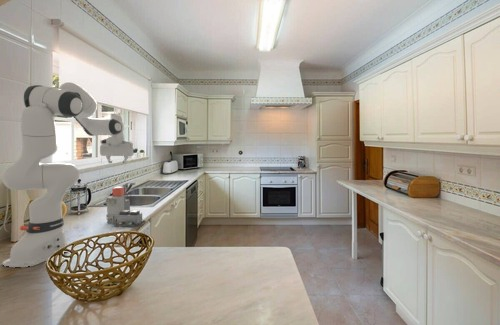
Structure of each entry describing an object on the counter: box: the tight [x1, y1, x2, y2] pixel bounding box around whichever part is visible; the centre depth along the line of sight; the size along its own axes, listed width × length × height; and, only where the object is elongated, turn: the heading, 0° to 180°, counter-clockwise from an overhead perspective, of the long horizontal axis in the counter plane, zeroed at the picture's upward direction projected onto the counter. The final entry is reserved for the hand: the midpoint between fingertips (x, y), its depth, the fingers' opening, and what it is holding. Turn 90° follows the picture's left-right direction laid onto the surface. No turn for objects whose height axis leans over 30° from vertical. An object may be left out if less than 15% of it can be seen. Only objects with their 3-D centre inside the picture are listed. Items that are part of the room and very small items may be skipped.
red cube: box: [112, 186, 126, 196], centre depth 159 cm, size 5×5×5 cm
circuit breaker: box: [105, 195, 131, 224], centre depth 160 cm, size 8×14×15 cm, turn 174°
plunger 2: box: [129, 209, 141, 215], centre depth 151 cm, size 4×4×6 cm
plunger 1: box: [120, 209, 131, 215], centre depth 151 cm, size 4×4×6 cm
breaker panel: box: [113, 212, 146, 228], centre depth 151 cm, size 12×12×6 cm
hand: (117, 163), depth 158 cm, fingers open, 8 cm apart
